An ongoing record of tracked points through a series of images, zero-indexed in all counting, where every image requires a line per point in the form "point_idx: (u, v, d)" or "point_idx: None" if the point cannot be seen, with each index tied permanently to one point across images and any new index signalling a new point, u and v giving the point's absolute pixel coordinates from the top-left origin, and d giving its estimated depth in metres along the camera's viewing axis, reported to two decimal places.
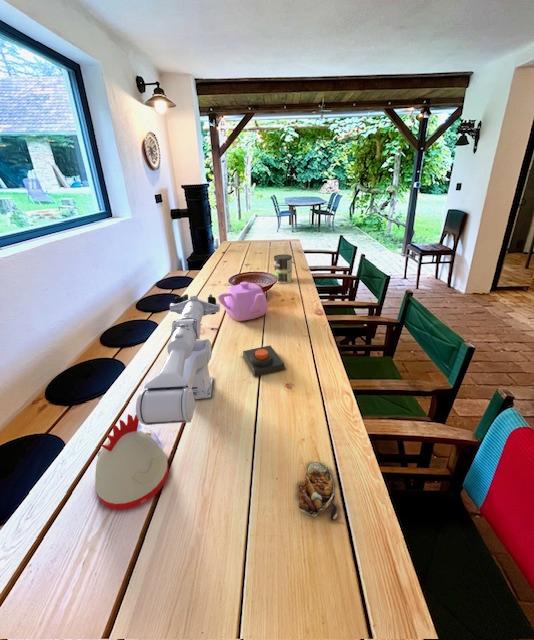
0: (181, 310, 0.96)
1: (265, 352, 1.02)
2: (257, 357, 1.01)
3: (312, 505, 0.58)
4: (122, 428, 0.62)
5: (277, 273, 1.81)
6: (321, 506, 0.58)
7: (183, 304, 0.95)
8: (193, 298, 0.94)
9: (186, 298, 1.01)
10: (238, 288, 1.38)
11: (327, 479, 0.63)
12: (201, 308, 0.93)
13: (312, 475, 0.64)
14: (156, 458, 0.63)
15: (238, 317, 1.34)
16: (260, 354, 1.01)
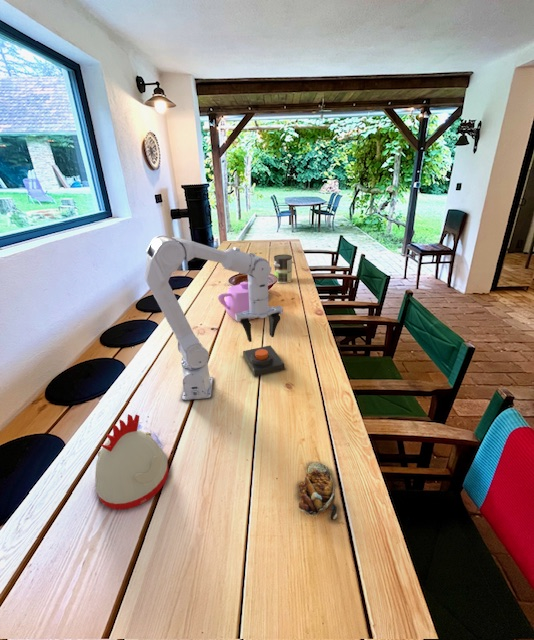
0: (271, 309, 0.98)
1: (265, 352, 1.02)
2: (257, 357, 1.01)
3: (312, 505, 0.58)
4: (122, 428, 0.62)
5: (277, 273, 1.81)
6: (321, 506, 0.58)
7: (271, 312, 0.96)
8: (263, 315, 0.93)
9: (271, 330, 1.00)
10: (238, 288, 1.38)
11: (327, 479, 0.63)
12: (252, 305, 0.93)
13: (312, 475, 0.64)
14: (156, 458, 0.63)
15: None
16: (260, 354, 1.01)
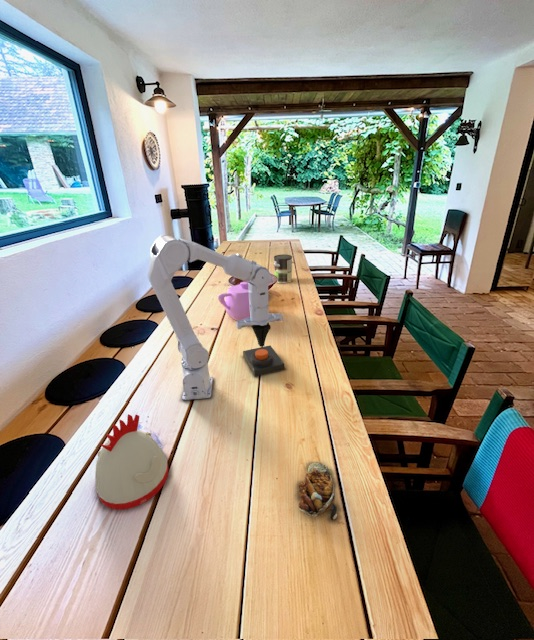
0: None
1: (265, 352, 1.02)
2: (257, 357, 1.01)
3: (312, 505, 0.58)
4: (122, 428, 0.62)
5: (277, 273, 1.81)
6: (321, 506, 0.58)
7: (271, 319, 0.97)
8: (263, 322, 0.94)
9: None
10: (238, 288, 1.38)
11: (327, 479, 0.63)
12: (252, 313, 0.94)
13: (312, 475, 0.64)
14: (156, 458, 0.63)
15: (238, 317, 1.34)
16: (260, 354, 1.01)
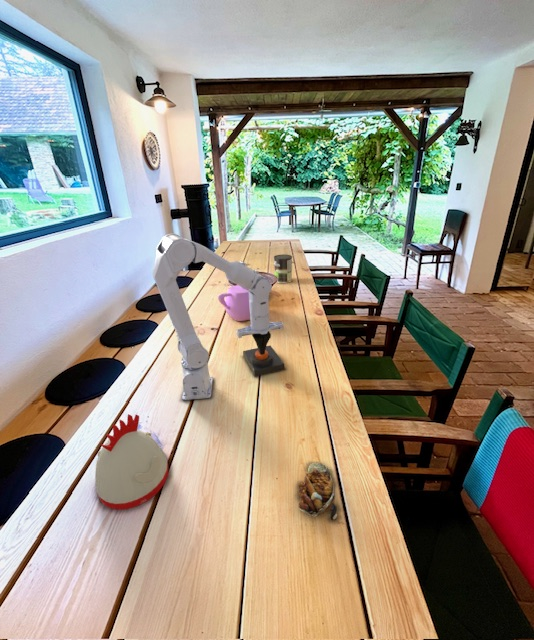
0: None
1: (265, 352, 1.02)
2: (257, 357, 1.01)
3: (312, 505, 0.58)
4: (122, 428, 0.62)
5: (277, 273, 1.81)
6: (321, 506, 0.58)
7: (271, 327, 0.98)
8: (264, 331, 0.95)
9: None
10: (238, 288, 1.38)
11: (327, 479, 0.63)
12: (253, 321, 0.95)
13: (312, 475, 0.64)
14: (156, 458, 0.63)
15: (238, 317, 1.34)
16: (260, 355, 1.01)
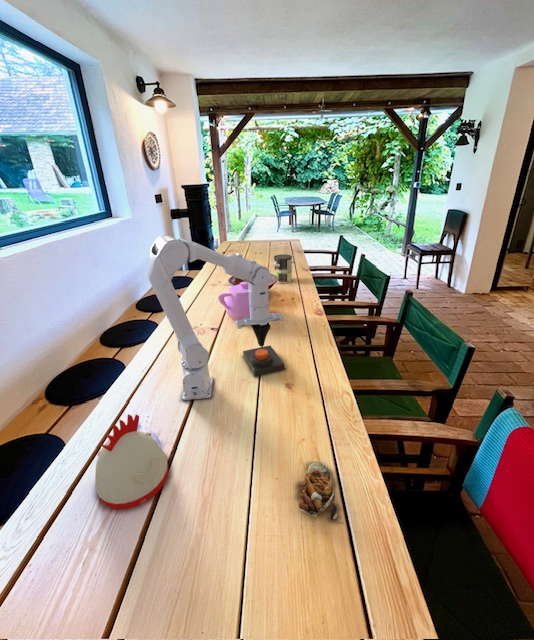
0: (271, 316, 0.99)
1: (265, 352, 1.02)
2: (257, 357, 1.01)
3: (312, 505, 0.58)
4: (122, 428, 0.62)
5: (277, 273, 1.81)
6: (321, 506, 0.58)
7: (271, 318, 0.97)
8: (263, 322, 0.94)
9: None
10: (238, 288, 1.38)
11: (327, 479, 0.63)
12: (252, 312, 0.94)
13: (312, 475, 0.64)
14: (156, 458, 0.63)
15: (238, 317, 1.34)
16: (260, 354, 1.01)
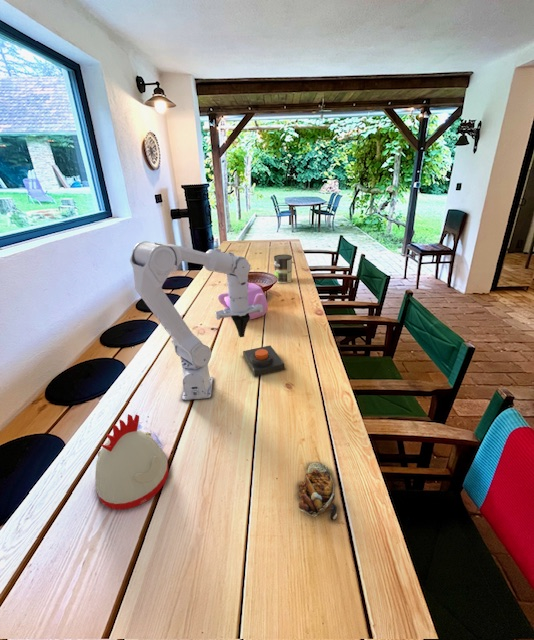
0: None
1: (265, 352, 1.02)
2: (257, 357, 1.01)
3: (312, 505, 0.58)
4: (122, 428, 0.62)
5: (277, 273, 1.81)
6: (321, 506, 0.58)
7: (250, 310, 0.98)
8: (242, 312, 0.95)
9: None
10: None
11: (327, 479, 0.63)
12: (231, 303, 0.95)
13: (312, 475, 0.64)
14: (156, 458, 0.63)
15: None
16: (260, 354, 1.01)
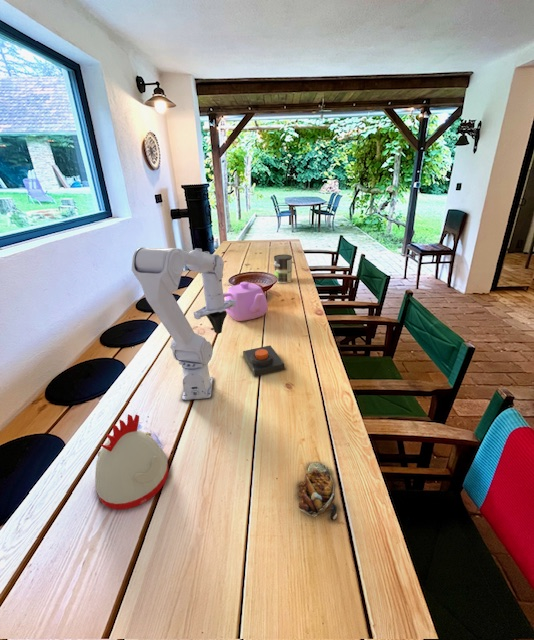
0: (224, 303, 1.04)
1: (265, 352, 1.02)
2: (257, 357, 1.01)
3: (312, 505, 0.58)
4: (122, 428, 0.62)
5: (277, 273, 1.81)
6: (321, 506, 0.58)
7: (226, 305, 1.02)
8: (221, 308, 0.99)
9: None
10: (238, 288, 1.38)
11: (327, 479, 0.63)
12: (210, 301, 0.97)
13: (312, 475, 0.64)
14: (156, 458, 0.63)
15: (238, 317, 1.34)
16: (260, 354, 1.01)
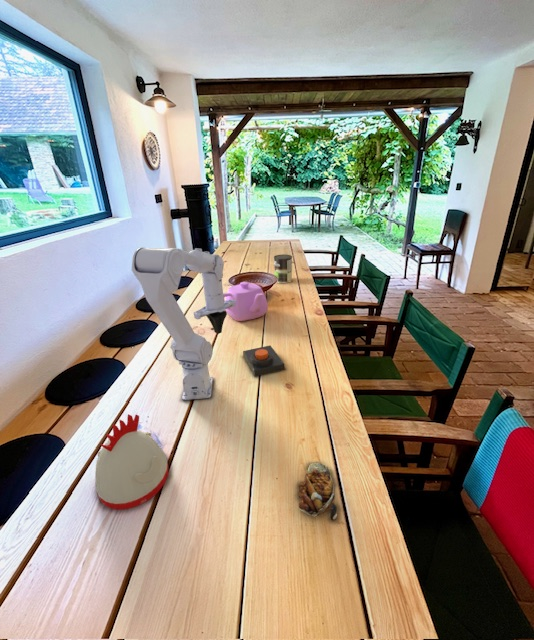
0: (224, 303, 1.04)
1: (265, 352, 1.02)
2: (257, 357, 1.01)
3: (312, 505, 0.58)
4: (122, 428, 0.62)
5: (277, 273, 1.81)
6: (321, 506, 0.58)
7: (226, 305, 1.02)
8: (221, 308, 0.99)
9: None
10: (238, 288, 1.38)
11: (327, 479, 0.63)
12: (210, 301, 0.97)
13: (312, 475, 0.64)
14: (156, 458, 0.63)
15: (238, 317, 1.34)
16: (260, 354, 1.01)
